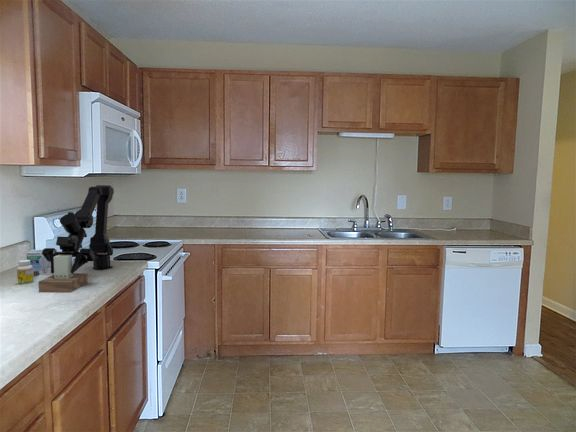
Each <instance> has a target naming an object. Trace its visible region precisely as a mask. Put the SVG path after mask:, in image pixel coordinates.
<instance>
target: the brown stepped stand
mask: <svg viewBox="0 0 576 432" xmlns="http://www.w3.org/2000/svg"><path fill="white" fill-rule="evenodd" d="M88 282H89V281H88V272H85V273H84V272H81V273H79V272H77V273H76V272H74V273H73V277H71V278H69V279H55V277H54V274H51V275H49V276H47V277H46V278H43V279H41V280H39V281H38V292H39V293H73V292H74V291H76V290H78V289H80V288H81V287H83V286H84V285H87V284H88Z"/></svg>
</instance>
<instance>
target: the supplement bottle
mask: <svg viewBox="0 0 576 432" xmlns="http://www.w3.org/2000/svg"><path fill="white" fill-rule="evenodd" d="M16 273H17V274H16V276H17V285H30V284H32V283H34V276H33V267H32V265H30V260H27V259H21V260H19V261H18V266H17V267H16Z"/></svg>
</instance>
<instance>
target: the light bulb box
mask: <svg viewBox="0 0 576 432" xmlns="http://www.w3.org/2000/svg"><path fill="white" fill-rule="evenodd" d="M55 250H56V251H58V249H57V248H55ZM42 251H43V249H30V250H29V251H27V252H26V260H30V265H32V267H33V277H38V276H40V275H41V276H44V275H46V276H47V275H54V273H53V274H52V273H51V261H48V260H47V259H46V258H45V257H44V256H43V255H42Z"/></svg>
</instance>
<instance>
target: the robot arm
mask: <svg viewBox="0 0 576 432" xmlns="http://www.w3.org/2000/svg"><path fill="white" fill-rule="evenodd" d="M114 194H115V190H114V188H113V187H112V185H109V184H95V186H89V187H88V193H87V195H86V197H85V199H84V201H83V203H82V206H81V208H79V210H77V211H75V212H73V211H69V212H68V213H67V214H64V215H62V216H61V217H60V219H59V223H60V224H61V226H62V227H63V229H64V230H65V232H66V233H67V234H68V235H67V236H57V237H56V242H55V245H56V246H59V250H61V251H58V250H57V251H56V250H55V249H56V248H55V247H44V248H43V249H42V250H43V251H42V255H43V256H44V257H45V258H46V259H47V260H48V261H51V273H52V274H51V275H54V274H53V273H54V256H57V255H72V258H74V259H75V260H74V261H73V263H72V269H71V274H73V273H76V271H77V270H78V269H80V268H81V267H82V266H84V265H85V264H88V263H89V262H91V263H92V262H93V266H92V267H91V268H92V269H94V270H100V271H101V270H106V269H111V268H113V266H112V265H111V256H113V255H114V249H113V246H112V245H111V243H110V242H111V240H110V238H109V237H108V235H107V227H108V215H109V214H108V213H109V204H110V203H111V202H112V200H113V195H114ZM95 208H96V216H95V230H94V235H93V236H91V237H90V239H89V245H88V248H83V241H84V238H87V237H88V235H87V232H86V230H85V229H90V228H91V227H92V226H93V224H94V216H93V213H94V211H95Z"/></svg>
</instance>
